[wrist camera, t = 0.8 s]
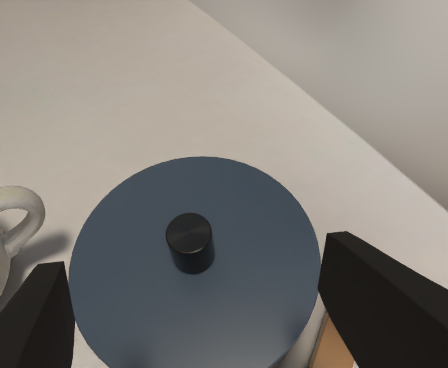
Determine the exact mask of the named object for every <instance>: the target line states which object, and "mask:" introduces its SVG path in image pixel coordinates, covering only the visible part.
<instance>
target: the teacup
mask: <svg viewBox="0 0 448 368" xmlns="http://www.w3.org/2000/svg"><path fill="white" fill-rule="evenodd" d="M11 208H19V209H23V210H26V211H28V214H27V216H26V217H25V218H24V219H23V220H22V222H21V223H19V224H18V225H17V226H16V227H15V228H13V229H12V230H10V231H9V232H7V233H4V232H3V230H2V228H1V227H0V296H1V294H2V292H3V290H4V287H5V285H6V282H7V279H8V276H9V271H10V263H11V258H12V257H14V256H16V255H17V254H18V253H19V252H20V249H21V246H22V245H24V244H25V243H26V242H27V241H28V240H29V239H30V238H31V237H33V236H34V235H35V234H36V232H37V231H38V230H39V229H40V227H41V226H42V225H43V222H44V219H45V208H44V205H43V202H42V200H41V198H40V197H39V196H38V195H37V194H36V193H35V192H33V191H32V190H30V189H28V188H24V187H19V186H7V187H1V188H0V212H1V211H3V210H6V209H11Z"/></svg>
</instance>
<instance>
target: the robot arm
mask: <svg viewBox="0 0 448 368" xmlns="http://www.w3.org/2000/svg"><path fill="white" fill-rule="evenodd" d="M317 288H318V291H319V293H320V296H321V298H322V301H323V303H324V306H325V308H326V310H327V312H328V315H329V317H330V319H331V321H332V323H333V324H334V326H335V328H336V330H337V331H338V333H339V335H340V337H341V338H342V340H343V342H344V343H345V345H346V347H347V348H348V350H349V352H350V353H351V355H352V357H353V359H354V360H355V362H356V364H357V365H358V367H359V368H448V289H446V288H444V287H442V286H440V285H439V284H437V283H435V282H433V281H431V280H429V279H427V278H426V277H424V276H422V275H420V274H419V273H417V272H415V271H413V270H412V269H410V268H408V267H407V266H405V265H403V264H401V263H400V262H398V261H396V260H395V259H393V258H391V257H390V256H388V255H387V254H385V253H383V252H382V251H380V250H378V249H377V248H375V247H373V246H372V245H370V244H368V243H367V242H365V241H363V240H362V239H360V238H358V237H356V236H355V235H353V234H351V233H349V232H347V231H344V232H335V233H327V236H326V242H325V247H324V253H323V259H322V264H321V270H320V276H319V281H318V287H317ZM74 331H75V317H74V312H73V307H72V302H71V296H70V291H69V286H68V281H67V276H66V270H65V265H64V261H62V262H52V263H43V264H38V265H37V266H36V267H35V268H34V269H33V270H32V272H31V273H30V274H29V276H28V277H27V278H26V280H25V281H24V283H23V284H22V285H21V287H20V288H19V289H18V291H17V292H16V293H15V294H14V296H13V297H12V298H11V300H10V301H9V302H8V304H7V305H6V306H5V307H4V309H3V310H2V311H1V312H0V368H71V365H72V359H73V347H74Z"/></svg>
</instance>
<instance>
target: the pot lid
mask: <svg viewBox="0 0 448 368" xmlns="http://www.w3.org/2000/svg"><path fill="white" fill-rule="evenodd" d="M320 270H321V262H320V252H319V246H318V241H317V238H316V235H315V232H314V229H313V227H312V224H311V222H310V220H309V218H308V216H307V214H306V213H305V211H304V210H303V208H302V207H301V205H300V204H299V202H298V201H297V200H296V199H295V198H294V196H293V195H292V194H291V193H290V192H289V191H288V190H287V189H286V188H285V187H284V186H283V185H281V184H280V183H279V182H278V181H276V180H275V179H273V178H272V177H271V176H269V175H268V174H266V173H264V172H262V171H260V170H258V169H257V168H254V167H252V166H249V165H247V164H244V163H241V162H237V161H234V160H230V159H224V158H218V157H203V156H202V157H186V158H180V159H174V160H170V161H166V162H162V163H159V164H157V165H154V166H151V167H148V168H146V169H144V170H142V171H140V172H138V173H136V174H134V175H133V176H131V177H130V178H128V179H126V180H125V181H123V182H122V183H121V184H119V185H118V186H117V187H115V188H114V189H113V190H112V191H111V192H110V193H109V194H108V195H107V196H106V197H105V198H103V199H102V200H101V202H100V203H99V204H98V205H97V206H96V208H95V209H94V210H93V211H92V213H91V214H90V216H89V217H88V219H87V220H86V222H85V224H84V225H83V227H82V229H81V231H80V234H79V236H78V238H77V240H76V243H75V246H74V249H73V252H72V257H71V262H70V267H69V282H68V285H69V291H70V296H71V302H72V307H73V312H74V317H75V320H76V323H77V326H78V328H79V330H80V332H81V334H82V336H83V337H84V339H85V341H86V342H87V344H88V345H89V347H90V348H91V349H92V350H93V352H94V353H95V354H96V355H97V356H98V358H99V359H101V360H102V361H103V362H104V363H105V364H106V365H107V366H108V367H110V368H270V367H271V366H273V365H274V364H275V363H276V362H277V361H278V360H279V359H280V358H281V357H283V356H284V355H285V354H286V353H287V352H288V350H289V349H290V348H291V347H292V345H293V344H294V343H295V342H296V341H297V339H298V338H299V336H300V334H301V333H302V331H303V329H304V328H305V326H306V324H307V322H308V320H309V318H310V315H311V313H312V311H313V308H314V306H315V302H316V299H317V295H318V288H317V287H318V281H319V276H320Z"/></svg>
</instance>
